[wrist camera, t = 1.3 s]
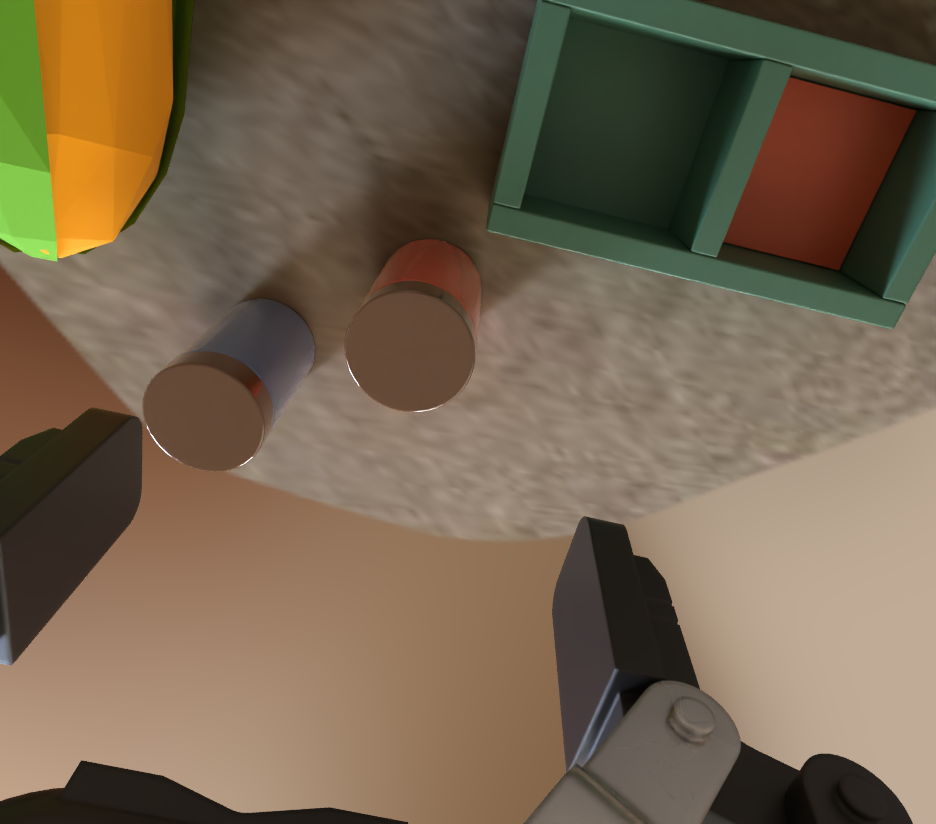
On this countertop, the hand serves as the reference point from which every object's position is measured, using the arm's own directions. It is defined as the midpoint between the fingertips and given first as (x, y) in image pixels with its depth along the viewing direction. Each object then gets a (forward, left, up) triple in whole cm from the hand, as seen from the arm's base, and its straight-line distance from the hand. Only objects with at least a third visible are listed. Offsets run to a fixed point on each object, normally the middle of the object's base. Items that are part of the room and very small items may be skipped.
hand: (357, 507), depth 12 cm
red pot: (0, 0, -13) cm, 13 cm away
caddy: (-7, +7, -13) cm, 16 cm away
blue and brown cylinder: (+3, -6, -13) cm, 15 cm away
